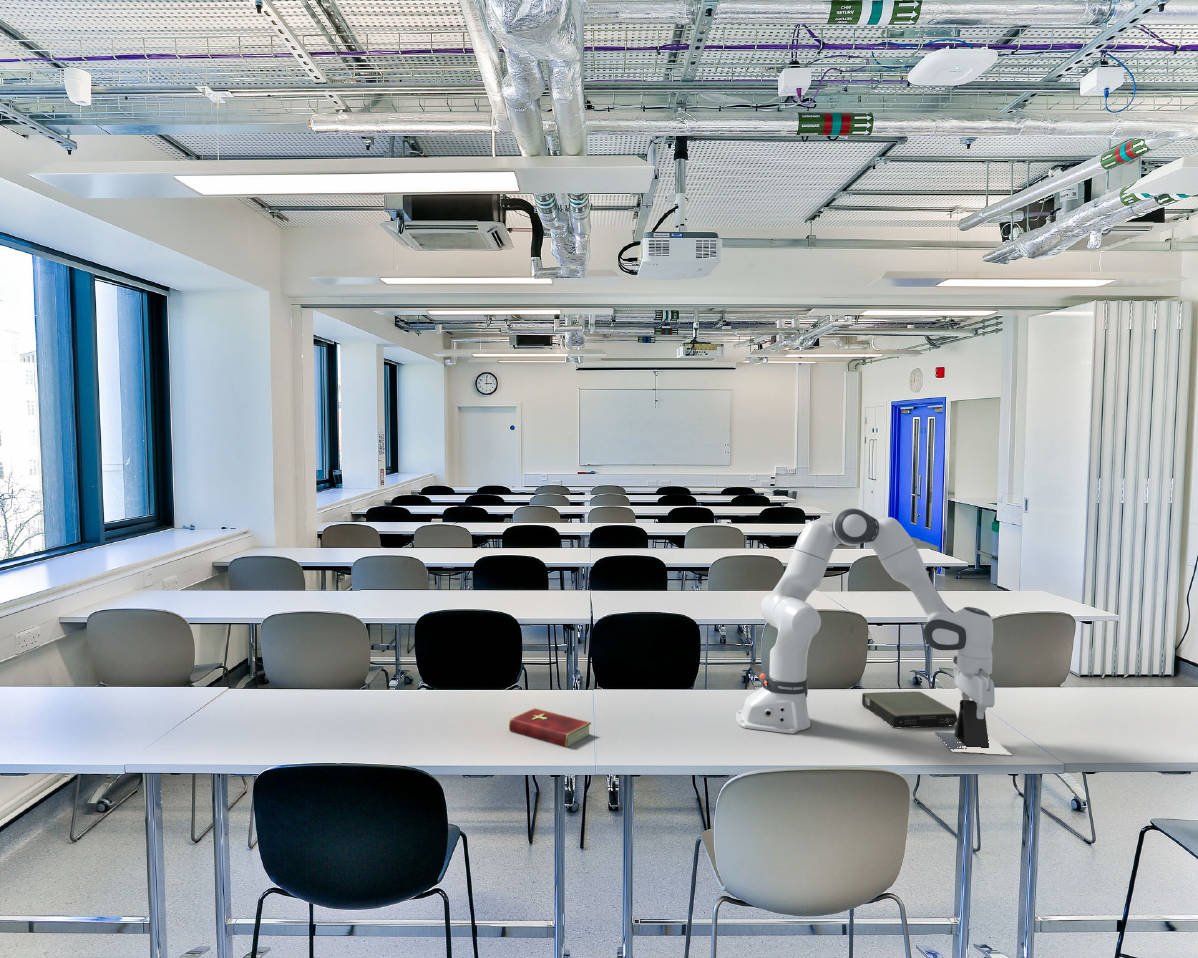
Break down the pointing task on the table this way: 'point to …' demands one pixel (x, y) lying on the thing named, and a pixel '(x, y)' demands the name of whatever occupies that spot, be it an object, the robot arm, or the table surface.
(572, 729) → the hardcover book
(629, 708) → the table surface
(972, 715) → the black slotted holder
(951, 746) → the rubber mat
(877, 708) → the network switch
